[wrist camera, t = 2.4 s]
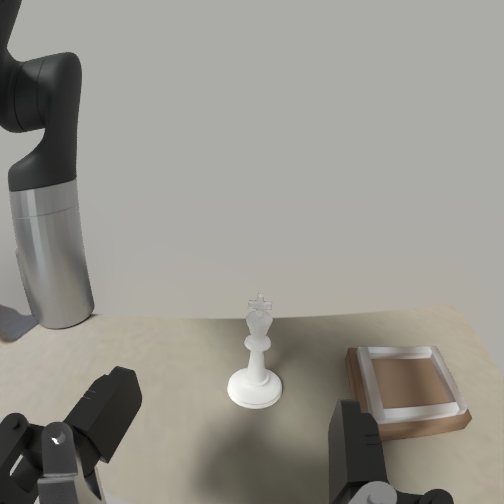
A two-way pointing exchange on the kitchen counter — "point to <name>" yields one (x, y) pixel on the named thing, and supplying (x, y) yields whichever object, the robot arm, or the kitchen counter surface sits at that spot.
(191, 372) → the kitchen counter surface
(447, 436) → the kitchen counter surface
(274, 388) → the chess piece
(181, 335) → the kitchen counter surface
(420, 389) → the walnut board
